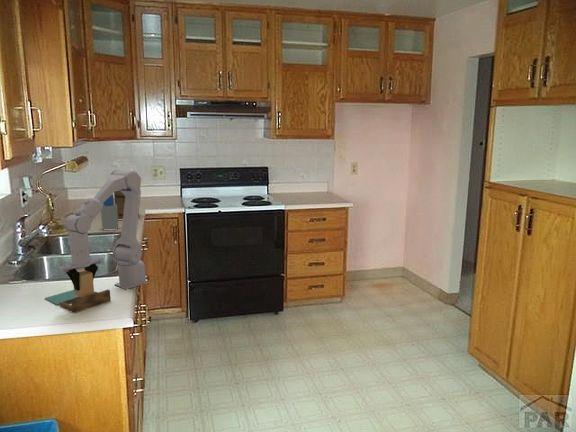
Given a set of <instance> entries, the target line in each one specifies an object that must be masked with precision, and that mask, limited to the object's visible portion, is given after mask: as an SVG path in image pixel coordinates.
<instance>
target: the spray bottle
mask: <svg viewBox="0 0 576 432" xmlns="http://www.w3.org/2000/svg"><path fill="white" fill-rule="evenodd" d="M100 215H101V216H100V218H101V228H103V229H116V228H118V227H119V220H118V212H117V205H116V204H115V200H114V193H113V194H112V195H111V196H110V197H109V198H108V199H107V200H106V201H105V202H104V203H103V204H102V210H101V211H100ZM103 229H102V230H103Z"/></svg>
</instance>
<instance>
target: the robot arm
mask: <svg viewBox="0 0 576 432" xmlns="http://www.w3.org/2000/svg"><path fill="white" fill-rule="evenodd" d="M141 183H142V177H141V176H140V174H139V173H138V171H134V170H132V171H131V170H129V171H128V170H119V169H114V170H112V171H111V172H110V174H108V175H107V180H106V182H105V183H104V184H103V185H102V186H101V188H100V189H99V191H97V193H96V194H95V196H94V197H93V198H92V197H91V198H90V197H89V198H87V199H85V200H84V201H83V203H82V205H81V206H80V207H79V208H78V209H77V210H75V212H74V214H70V215H69V216H67V218H66V219H65V222H64V224H63V228H64V229H65V231H67V236H68V238H69V248H70V257H71V262H69V263H66V264H64V265H61V266H58V273H59V274H62V275H63V274H66V275H67V276H68V278H69V279H70V281H71V283H72V285H74V286H73V289H74V288H75V290H77V291H78V290H80V285H79V275H80V273H79V272H77V271H78V270H81V269H84V270H86V271H89V272H91V273H92V274H93V281H94V279H95V275H97V271H98V269H99V266H98V264H100V265H101V264H104V258H103V257H100V256H98V257H93V258H91V256H90V246H89V245H90V242H89V233H88V232H89V231H90V230H91V227H92V223H93V220H95V218H96V217H97V216H98V214H99V213H101V210H102V205H103V203H104V202H105V201H106V200H107V199H108V198H109V197H110V196H111V195H112V194H113V195H114V192H115V191H117V190H120V191H121V192H122V193H123V194H124V195H125V204H124V213H123V220H122V223H121V233H120V237H119V238H118V239H117V240H116V241H115V244H114V247H113V250H112V257H113V259H114V260H115V261H116V263H117V269H118V271H117V272H118V282H115V283H114V286H116V287H119V288H121V289H123V290H124V289H125V290H129V289H132V288H135V287H139V286H142V285H144V284H147V283H148V281H147V276H146V275H147V273H146V272H147V271H146V265H145V263H144V261H143V260H141V259H142V255H143V252H142V244H141V243H140V241H139V240H138V239H137V231H138V222H139V218H138V215H139V216H140V205H141V196H142V191H141V190H142V189H141V185H142V184H141Z"/></svg>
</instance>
